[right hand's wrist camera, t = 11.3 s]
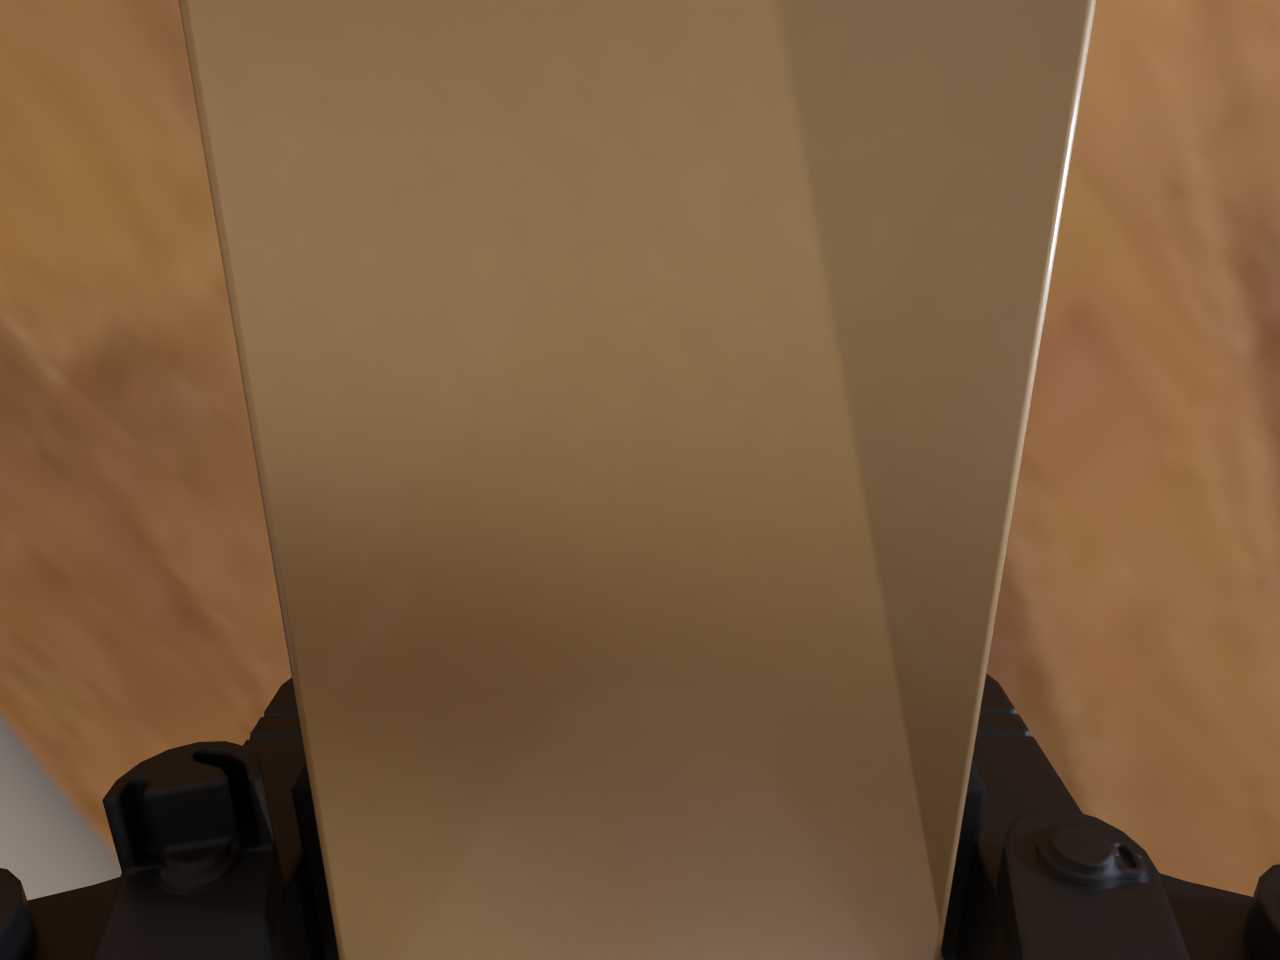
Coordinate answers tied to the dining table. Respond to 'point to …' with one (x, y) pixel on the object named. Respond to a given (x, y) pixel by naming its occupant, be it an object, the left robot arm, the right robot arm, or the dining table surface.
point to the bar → (638, 446)
